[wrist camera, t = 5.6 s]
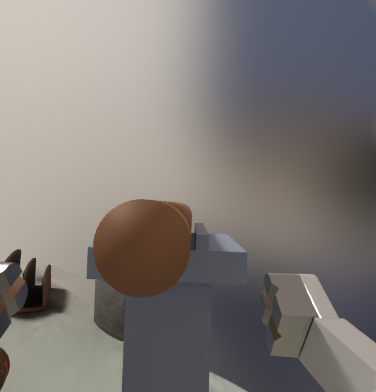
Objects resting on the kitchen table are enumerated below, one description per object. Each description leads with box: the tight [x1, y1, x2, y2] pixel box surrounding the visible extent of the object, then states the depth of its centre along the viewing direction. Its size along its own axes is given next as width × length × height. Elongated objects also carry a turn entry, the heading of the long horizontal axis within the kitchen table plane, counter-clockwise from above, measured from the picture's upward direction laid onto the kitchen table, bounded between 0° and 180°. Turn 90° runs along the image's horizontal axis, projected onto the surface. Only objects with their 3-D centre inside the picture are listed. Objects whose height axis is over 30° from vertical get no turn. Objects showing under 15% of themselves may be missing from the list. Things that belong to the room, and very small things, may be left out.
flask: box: [94, 279, 125, 341], centre depth 61 cm, size 4×14×18 cm, turn 44°
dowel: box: [93, 199, 192, 298], centre depth 19 cm, size 22×3×3 cm, turn 179°
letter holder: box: [5, 249, 51, 314], centre depth 76 cm, size 10×20×14 cm, turn 23°
